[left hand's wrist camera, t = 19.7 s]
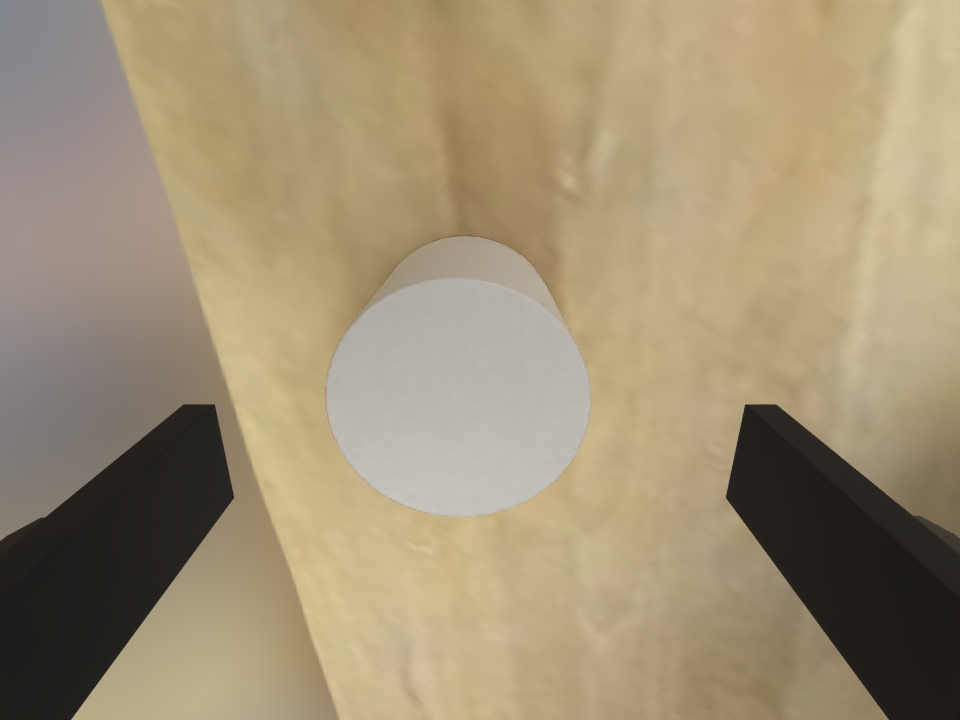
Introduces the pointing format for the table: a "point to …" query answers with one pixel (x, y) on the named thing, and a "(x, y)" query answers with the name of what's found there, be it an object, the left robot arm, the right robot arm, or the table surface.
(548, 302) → the canister
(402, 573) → the table surface
